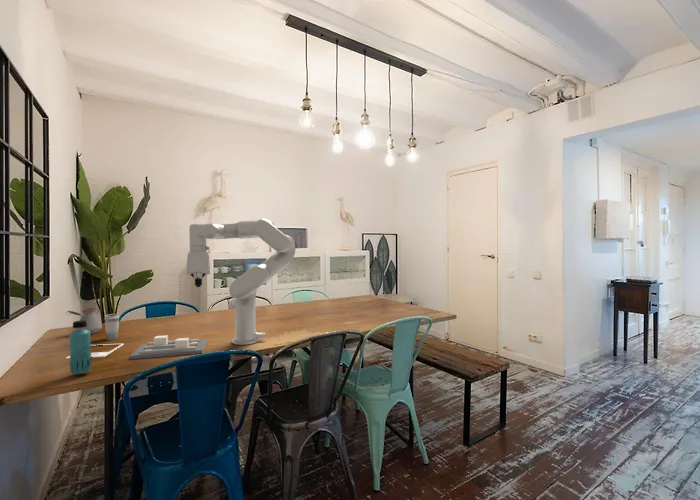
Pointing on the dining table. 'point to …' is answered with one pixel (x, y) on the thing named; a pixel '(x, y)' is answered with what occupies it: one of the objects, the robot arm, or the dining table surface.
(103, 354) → the photo frame
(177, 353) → the switch panel
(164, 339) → the switch tab
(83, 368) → the beverage bottle
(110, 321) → the cup
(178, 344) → the switch tab
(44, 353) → the dining table surface
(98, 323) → the coffee pot
